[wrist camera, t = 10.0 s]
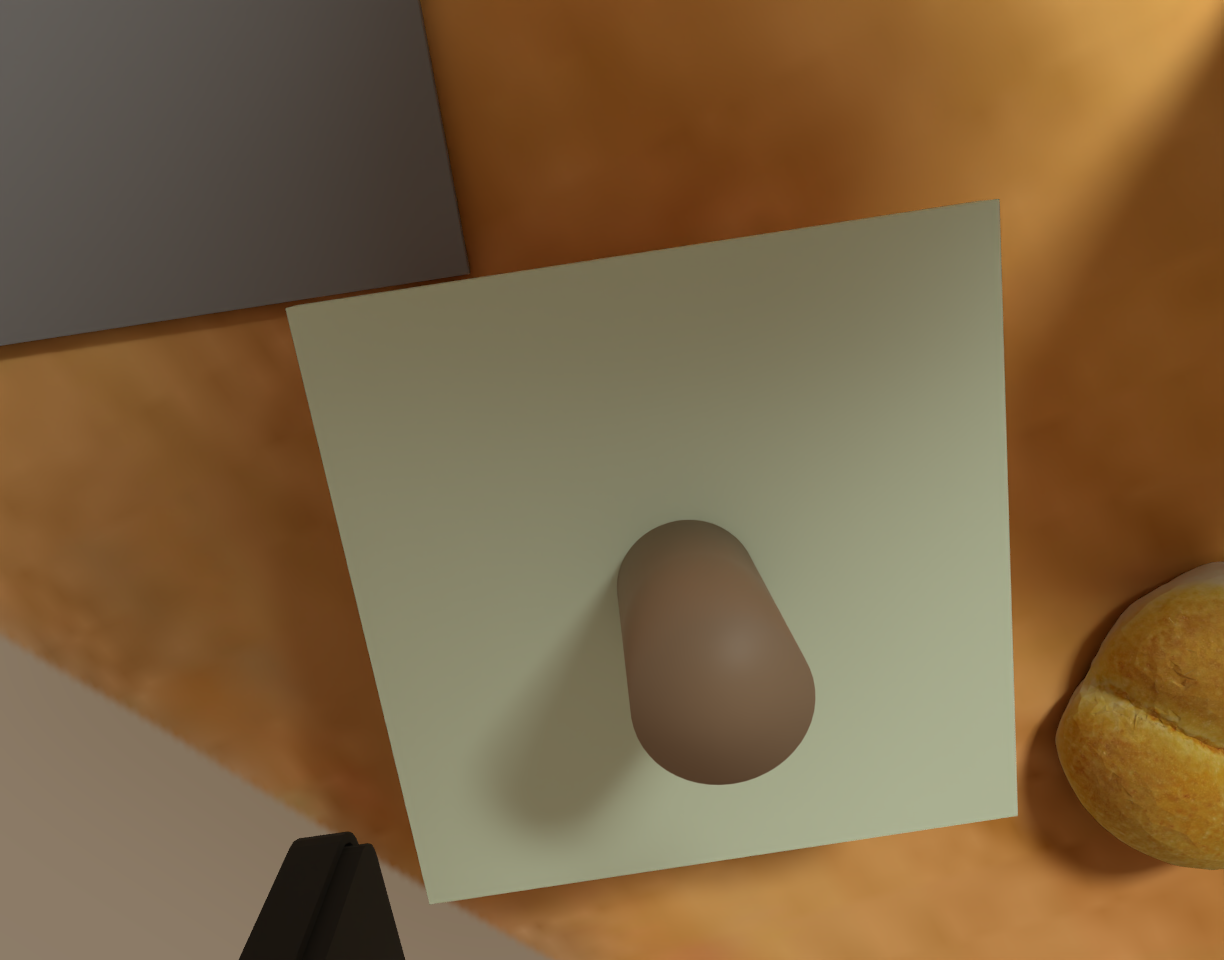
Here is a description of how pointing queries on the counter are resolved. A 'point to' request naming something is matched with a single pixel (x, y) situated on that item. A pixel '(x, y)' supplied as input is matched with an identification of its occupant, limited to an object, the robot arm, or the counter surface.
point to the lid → (681, 546)
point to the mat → (214, 158)
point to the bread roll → (1156, 724)
